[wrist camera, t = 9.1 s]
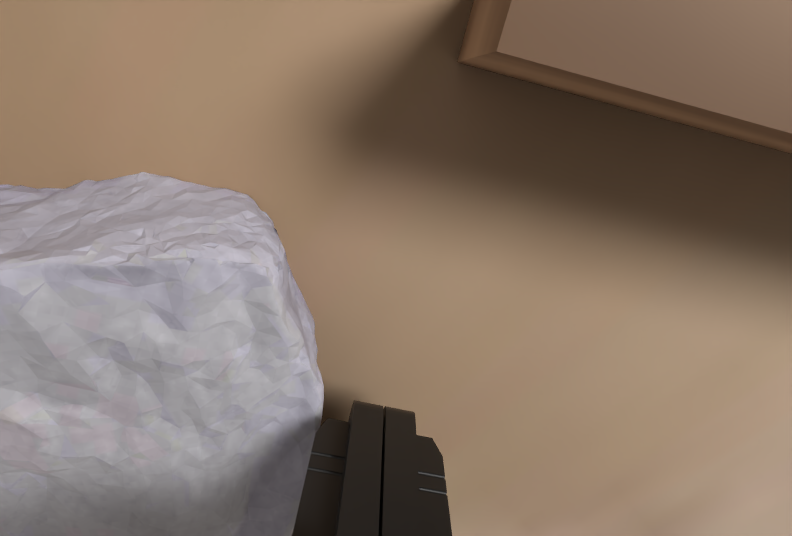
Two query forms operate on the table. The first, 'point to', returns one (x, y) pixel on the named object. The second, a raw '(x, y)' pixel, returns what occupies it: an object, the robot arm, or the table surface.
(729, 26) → the pair of wooden bars
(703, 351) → the table surface
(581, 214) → the table surface
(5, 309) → the stone block
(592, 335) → the table surface
